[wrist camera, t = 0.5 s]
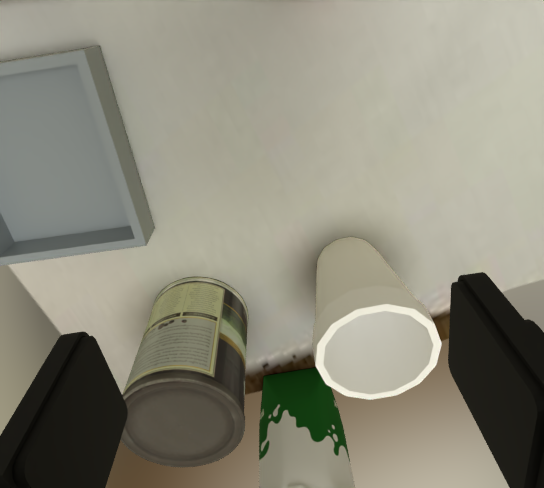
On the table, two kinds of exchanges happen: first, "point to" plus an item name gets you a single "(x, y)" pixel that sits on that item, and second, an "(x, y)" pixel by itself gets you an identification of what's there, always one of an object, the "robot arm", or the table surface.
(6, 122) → the pin tray
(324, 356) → the foam cup
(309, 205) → the table surface
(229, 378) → the coffee can
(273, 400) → the milk carton
